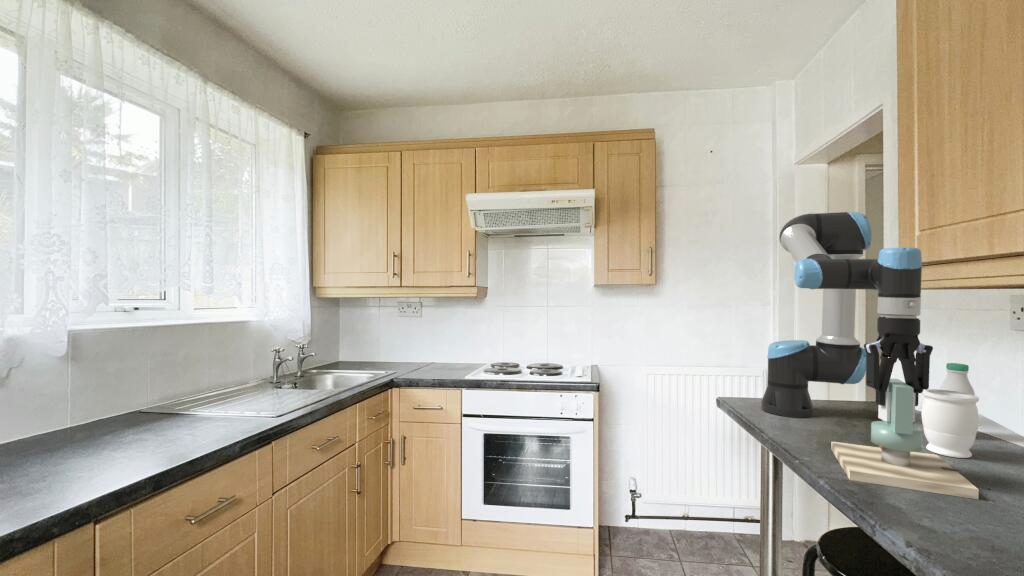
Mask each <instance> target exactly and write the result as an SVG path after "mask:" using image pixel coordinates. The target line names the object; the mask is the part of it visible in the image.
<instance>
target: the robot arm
mask: <svg viewBox="0 0 1024 576" xmlns="http://www.w3.org/2000/svg"><path fill="white" fill-rule="evenodd" d="M872 236H873V235H872V228H871V224H870V221H869V218H868V217H867V215H865V214H864V213H862V212H855V211H853V212H851V211H845V212H844V211H843V212H841V211H840V212H823V213H819V212H817V213H806V214H801V215H798V216H795V217H794V218H792V219H790V220H789V221H788V222H786V223H785V224H784V225H783V227H782V228H781V229H780V233H779V236H778V237H779V238H778V239H779V243H780V245H781V246H782V248H783V250H785V251H786V252H788V253H790V254H791V257H792V258H793V260H794V261H795V267H794V282H795V285H796V287H798V288H799V289H808V290H822V313H821V314H822V318H821V320H822V321H821V323H822V325H821V335H820V336H819V337H817V338H816V340H815V345H812V344H810V343H809V341H808V340H803V339H798V340H796V339H795V340H794V339H790V340H781V341H774V342H771V343H770V344H769V346H768V347H767V348H768V349H767V356H766V358H767V382H766V383H767V386H766V388H765V392H764V393H763V396H762V399H761V403H760V409H761V410H762V411H764V412H766V413H770V414H773V415H777V416H781V417H790V418H811V417H814V416H815V407H814V403H813V401H812V398H811V395H810V392H809V382H814V383H816V382H817V383H831V384H840V385H845V384H846V385H855V384H858V383H860V382H861V381H862V380H863V379H864V377H865V385H866V386H867V387H869V388H872V389H874V390H875V404H876V405H878V411H877V412H878V414H877V417H878V418H877V419H880V420H881V421H882V420H885V421H890V419H891V392H888V391H887V389H888V385H889V381H890V378H891V377H892V375H893V369H894V365H895V363H897V361H899V362H900V365H901V369H902V374H903V378H904V383H906V384H907V385H909V386H911V387H912V388H914V391H913V423H915V422H916V407H918V406H919V394H922V392H923V390H927V389H930V363H931V362H930V361H931V360H930V359H931V355H932V352H933V349H934V347H933V346H932V345H929V344H924V343H922V342H921V341H920V339H919V335H920V334H921V319H920V318H917V317H918V316H921V306H922V303H921V302H922V299H921V296H922V273H923V272H922V269H923V268H922V267H923V264H924V263H923V259H922V251H921V250H920V249H919V248H918V247H905V246H904V247H888V248H887V247H886V248H882V249H881V250H879V252H878V258H862V257H863V256H864V251H866V250H868V249H870V247H871V245H872V239H873V237H872ZM856 290H871V291H872V290H875V291H877V308H876V310H877V314H878V315H880V316H878V318H877V321H876V322H877V323H876V325H877V327H876V330H877V334H878V336H877V338H876V340H875V342H872V343H864V345H863V347H861V342H860V341H859V340H858V339H857V338H856V337H855V322H856V321H855V320H856V296H857V295H856V292H857V291H856ZM880 351H881V353H880Z"/></svg>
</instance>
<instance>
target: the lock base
mask: <svg viewBox="0 0 1024 576" xmlns="http://www.w3.org/2000/svg"><path fill="white" fill-rule="evenodd" d="M830 443H831V444H830V446H831V447H830V448H831V449H830V450H831V451H832V453H833V454H834V457H835V458H836V460H837V461H838V463H839V465H840V466H841V468H842V470H843V469H844V470H843V471H844V473H845V474H847V475H846V476H847V478H848V479H849V481H854V482H861V483H867V484H874V485H881V486H888V487H894V488H899V489H900V488H901V489H908V490H915V491H918V492H919V491H921V492H927V493H934V494H941V495H947V496H953V497H961V498H967V499H973V500H979V496H980V495H979V488H978V487H976V485H974V484H972V482H970V481H969V480H968V479H967V478H966V477H964V476H963V475H962V474H961V472H962V470H961V469H960V468H954V467H952V466H951V465H950V464H949V463H947V462H946V461H945V460H944V459H942V458H941V457H940V456H939V454H936V453H934V454H933V453H926V452H920V451H918V452H908V451H899V450H893V449H889V448H885V447H881V446H879V445H878V446H871V445H864V444H863V445H861V444H856V443H847V442H838V441H831V442H830Z"/></svg>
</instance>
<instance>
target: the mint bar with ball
mask: <svg viewBox="0 0 1024 576" xmlns="http://www.w3.org/2000/svg"><path fill="white" fill-rule="evenodd" d="M887 391H888V392H891V419H890V421H885V420H882V419H881V420H875V421H872V422H870V441H871V442H872V443H873V444H874V445H876V446H878V447H879V446H881V447H885V448H889V449H893V450H899V451H908V452H922V451H923V433H924V430H922V429H921V428H920V427H917V426H913V425H914V422H913V391H914V388H912V387H911V386H909V385H907V384H906V383H905V381H903V380H900V379H899V378H890V381H889V385H888V389H887Z"/></svg>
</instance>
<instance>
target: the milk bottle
mask: <svg viewBox="0 0 1024 576" xmlns="http://www.w3.org/2000/svg"><path fill="white" fill-rule="evenodd" d="M945 366H946V369H945V370H946V372H947V374H946V377H945V379H944V380H943V382H942V383H941V384H940V387H939V389H938V390H949V391H957V392H962V393H968V394H972V395H975V396H976V393H975V390H974V388H973V386H972V385H971V383H970V380H969V377H968V373H969V368H970V367H969V365H968V364H965V363H957V362H955V363H954V362H948V363H946V365H945Z"/></svg>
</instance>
